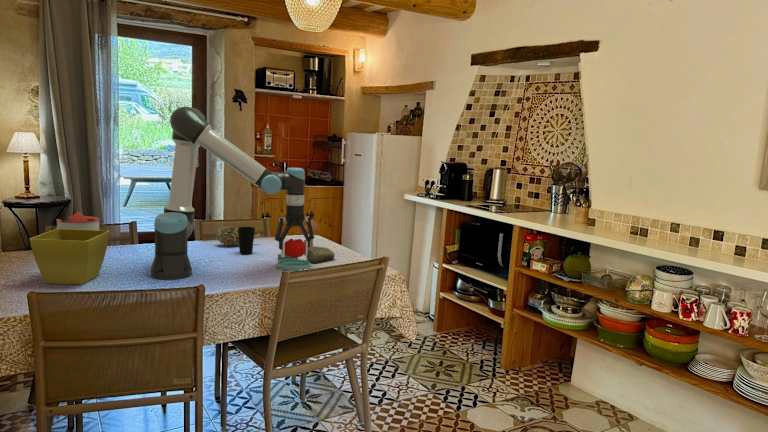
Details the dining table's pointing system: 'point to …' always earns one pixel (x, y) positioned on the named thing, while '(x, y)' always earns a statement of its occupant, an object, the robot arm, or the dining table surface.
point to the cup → (246, 240)
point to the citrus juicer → (79, 222)
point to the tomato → (294, 248)
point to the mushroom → (314, 228)
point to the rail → (285, 257)
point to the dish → (293, 264)
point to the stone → (319, 254)
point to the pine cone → (229, 236)
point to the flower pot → (70, 254)
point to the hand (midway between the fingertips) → (294, 256)
